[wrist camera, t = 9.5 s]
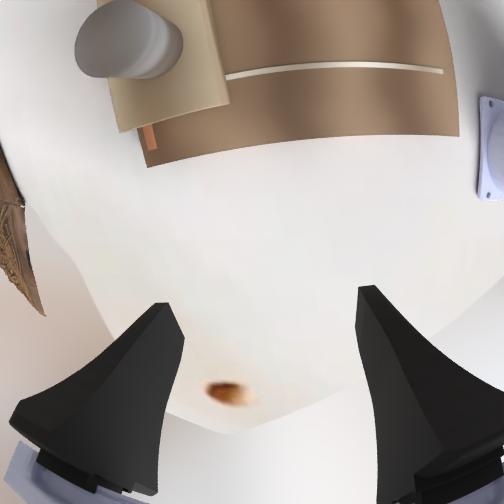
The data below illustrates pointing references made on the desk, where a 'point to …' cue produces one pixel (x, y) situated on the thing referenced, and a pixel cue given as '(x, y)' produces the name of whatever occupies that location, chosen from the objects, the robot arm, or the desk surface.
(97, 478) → the robot arm
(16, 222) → the wooden fragment
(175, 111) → the beige block with knob
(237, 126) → the board
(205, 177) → the desk surface
